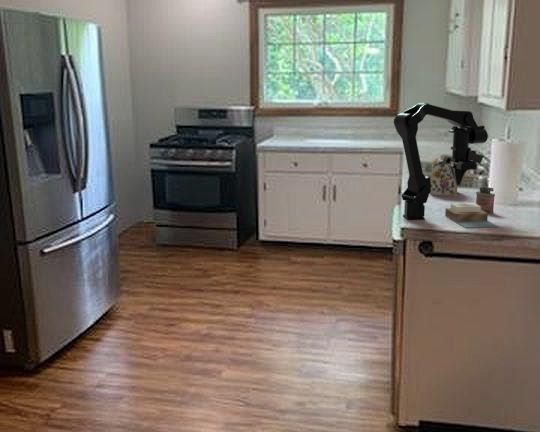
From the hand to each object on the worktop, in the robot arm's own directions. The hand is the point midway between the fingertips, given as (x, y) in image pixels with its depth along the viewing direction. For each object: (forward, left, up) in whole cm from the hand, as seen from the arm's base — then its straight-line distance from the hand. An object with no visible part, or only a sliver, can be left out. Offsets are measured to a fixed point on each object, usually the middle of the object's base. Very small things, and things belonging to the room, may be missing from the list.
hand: (458, 185), depth 225 cm
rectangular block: (0, -8, -8) cm, 11 cm away
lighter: (+12, +2, -11) cm, 17 cm away
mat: (0, -18, -11) cm, 22 cm away
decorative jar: (+10, +40, -11) cm, 43 cm away
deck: (0, -9, -11) cm, 14 cm away
